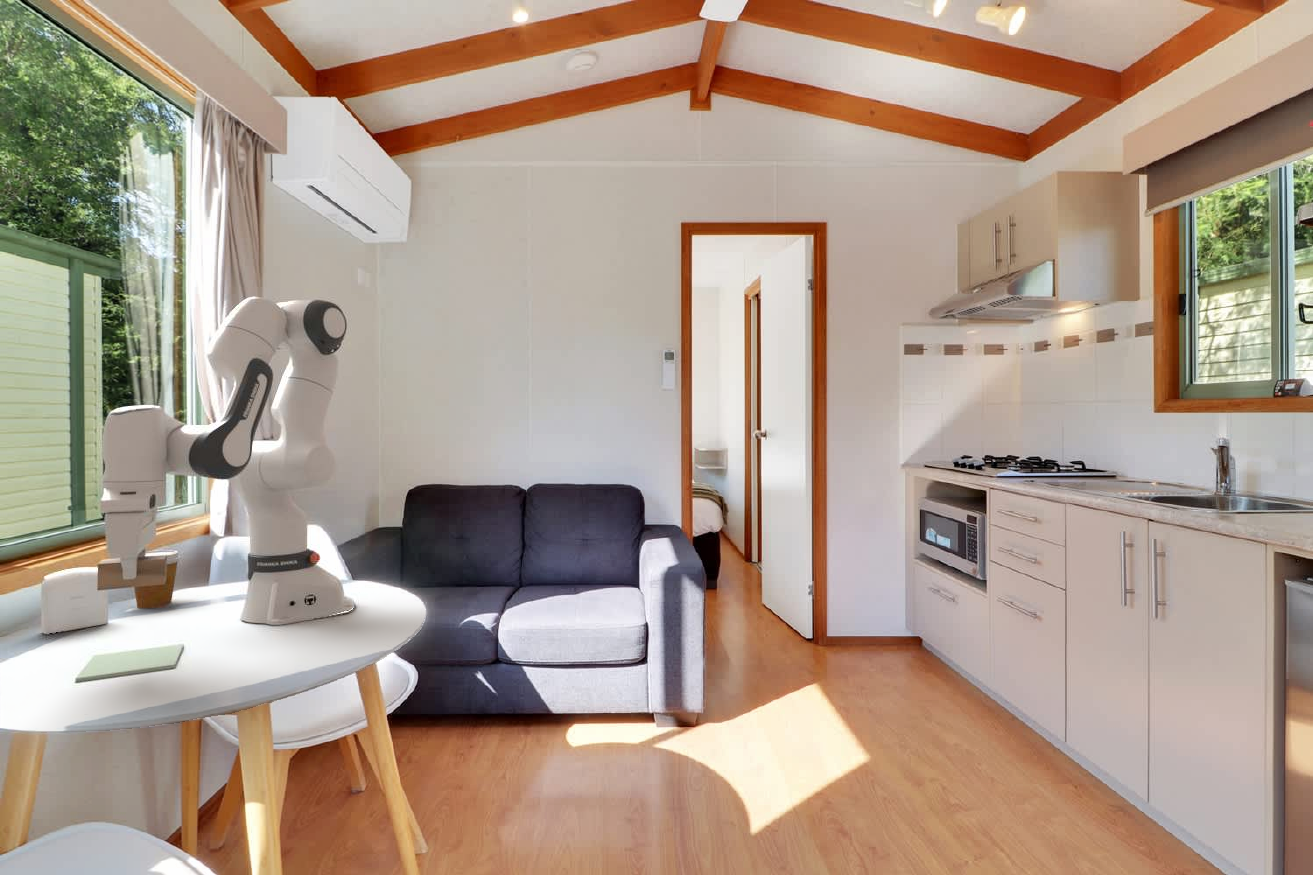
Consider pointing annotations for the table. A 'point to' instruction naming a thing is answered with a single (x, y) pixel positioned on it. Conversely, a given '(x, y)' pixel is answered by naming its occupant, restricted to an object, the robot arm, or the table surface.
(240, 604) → the table surface
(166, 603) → the disposable coffee cup
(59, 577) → the photo printer
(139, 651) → the rubber mat
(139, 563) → the box
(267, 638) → the table surface
